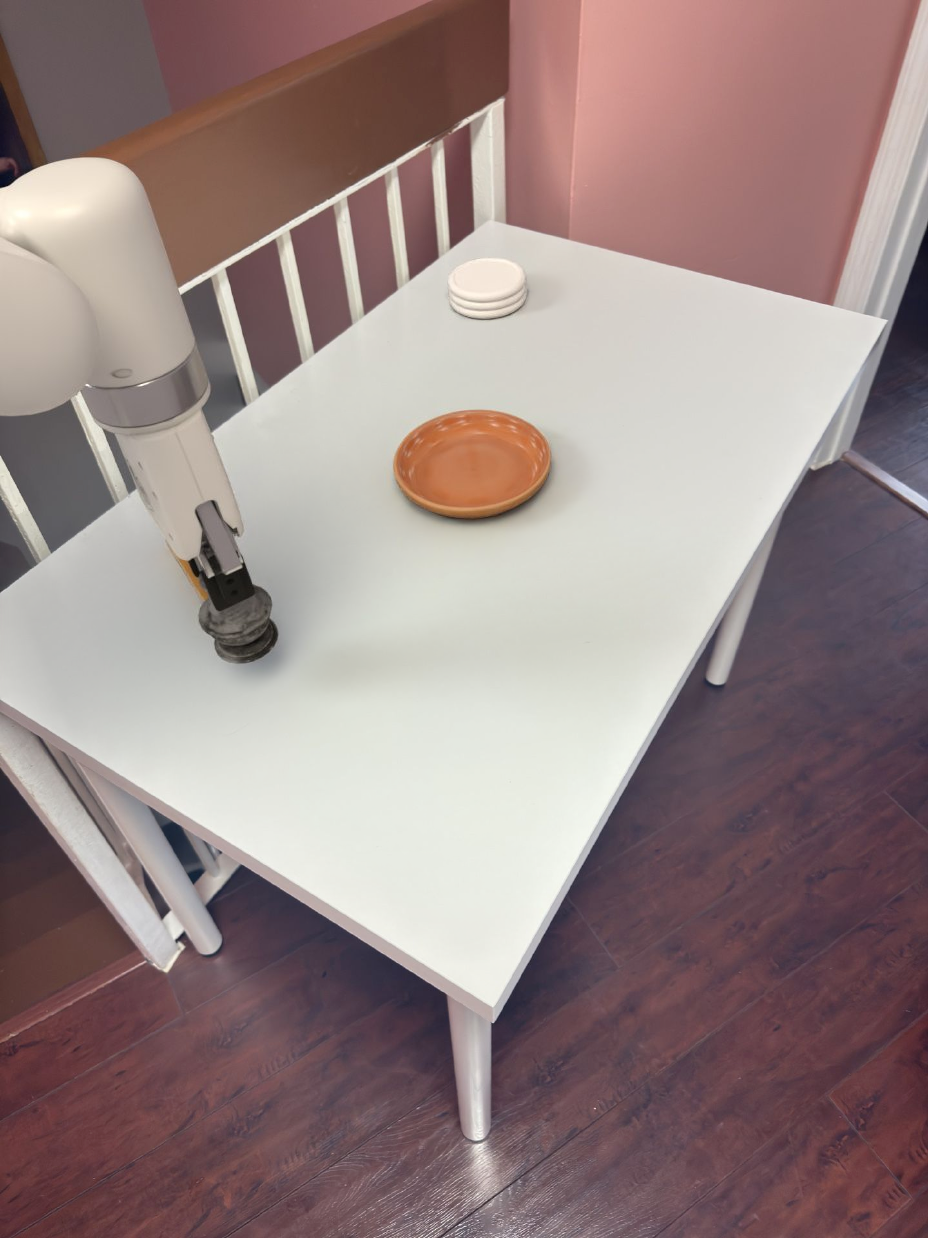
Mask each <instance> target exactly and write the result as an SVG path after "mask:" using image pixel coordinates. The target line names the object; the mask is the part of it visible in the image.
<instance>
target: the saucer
mask: <svg viewBox="0 0 928 1238" xmlns="http://www.w3.org/2000/svg"><path fill="white" fill-rule="evenodd" d="M550 447H551V446H550V444H549V442H548V440H547V438H546V437H545V435H543V433H542V432H541V431H540V430H539V429H538V428H537V427H535V426H534V425H533V424H532V423H530V422H529V421H526V420H524V419H523V418H521V417H518V416H516V415H513V414H511V413H507V412H504V411H498V410H491V409H466V410H465V409H464V410H458V411H452V412H448V413H444V414H442V415H439V416H435V417H433V418H431V419H429V420H427V421H424V423H422V424H420V425H418V426H417V427H415V428H414V429H413V430H412V431H410V432H409V433H408V434H407V435H406V436H405V437H404V438H403V439H402V441H401V442H400V444H399V445H398V447H397V449H396V451H395V453H394V457H393V468H392V469H393V473H394V477H395V479H396V482H397V484H398V487H399V489H400V490H401V491H402V493H403V494H404V495H405V496H406V497H407V498H408V500H410V501H411V502H412V503H414V504H415V505H417V506H419V507H421V508H423V509H425V510H427V511H430V512H432V513H435V514H437V515H440V516H445V517H449V518H456V519H482V518H489V517H494V516H497V515H499V514H503V513H505V512H508V511H510V510H512V509H514V508H516V507H518V506H519V505H521V504H523V503H524V502H526V501H528V500H529V499H531V498H532V496H534V495H535V494H536V493H537V492H538V491H539V490H540V489H541V488H542V486H543V485H544V484H545V482H546V480H547V479H548V475H549V473H550V468H551V464H552V451H551V448H550Z"/></svg>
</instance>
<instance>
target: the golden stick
mask: <svg viewBox="0 0 928 1238" xmlns="http://www.w3.org/2000/svg"><path fill="white" fill-rule="evenodd" d="M163 538H164V540H165V543H166V545H167V547H168V548H169V550H170V552H171V554H172V555H173V556H174V558H175V560H176V561H177V563H178V565H179V566H180V569H182V571H183V572H184V574H185V576H186V577H187V579H188V581H189V582H190V584H191V586H192V587H193V589H194V590H195V592H196V594H197V596H198V597H199V599H200V600H201V602H202V604H203V603H204V601H205V600H206V599H207V598H208V597H209V596H208V593H207V591H204V590H203V589H202V588H201V587H200V585H199V581H198V578H199V577H195V575H194V574H193V572H192V570H191V568H190V565H189V563H188V561H185V560H182V559H180V558H179V557H177V556H176V554H175V553H174V551H173V550H172V548H171V547H170V545H169V544H168V542H167V541H166V539H165V537H164V536H163Z"/></svg>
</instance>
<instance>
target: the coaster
mask: <svg viewBox="0 0 928 1238" xmlns="http://www.w3.org/2000/svg"><path fill="white" fill-rule="evenodd" d="M526 280H527V275H526V271H525V270H524V268H523V267H522V266H521V265H520V264H518V263H517V262H515V261H513V260H510V259H507V258H500V257H481V258H475V259H472V260H468V261H466V262H464V263H460V264H459V265H458V266H456V267H455V268H454V269H453V270H452V271H451V272H450V273H449V275H448V278H447V287H448V296H449V297H448V302H449V305H450V307H451V308H452V310H454V311H455V312H457V313H458V314H460V315H461V316H464V317H466V318H470V319H477V320H478V319H479V320H490V319H499V318H502V317H505V316H508V315H510V314H512V313H514V312H516V311H517V310H519V309H520V308H522V306H523V305H524V304H525V302H526V299H527V296H528V295H527V294H528V293H527V282H526Z"/></svg>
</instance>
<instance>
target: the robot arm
mask: <svg viewBox="0 0 928 1238" xmlns="http://www.w3.org/2000/svg"><path fill="white" fill-rule="evenodd" d="M183 301H184V300H183V299H182V295H181V292H180V289H179V285H178V284H177V281H176V277H175V274H174V271H173V268H172V265H171V263H170V259H169V256H168V253H167V251H166V248H165V244H164V241H163V237H162V235H161V233H160V229H159V226H158V223H157V220H156V217H155V214H154V211H153V208H152V204H151V202H150V200H149V197H148V194H147V192H146V189H145V187H144V185H143V183H142V181H141V180H140V178H139V177H138V176H137V175H136V173H135V172H134V171H133V170H131V169H130V168H129V167H127V166H126V165H125V164H123V163H120V162H118V161H116V160H113V159H110V158H105V157H74V158H73V157H72V158H66V159H62V160H57V161H53V162H50V163H47V164H44V165H41V166H39V167H37V168H34V169H32V170H30V171H28V172H27V173H24V174H23V175H21V176H19V177H18V178H17V179H15V180H14V181H13V182H12V183H11V184H9V185H8V186H5V187H0V417H20V416H31V415H36V414H40V413H44V412H48V411H50V410H53V409H56V408H57V407H60V406H61V405H64V404H65V403H67V402H69V401H70V400H71V399H73V398H74V397H76V395H78V394H79V392H80V394H81V396H82V398H83V401H84V403H85V405H86V407H87V410H88V412H89V414H90V415H91V418H92V420H93V422H94V423H95V424H96V425H97V426H98V427H99V428H100V429H102V430H105V431H107V432H109V433H112V434H114V436H115V439H116V441H117V444H118V446H119V448H120V451H121V453H122V456H123V458H124V460H125V462H126V466H127V467H128V470H129V472H130V475H131V478H132V480H133V483H134V486H135V488H136V490H137V493H138V495H139V497H140V499H141V501H142V503H143V505H144V507H145V508H146V510H147V511H148V513H149V515H150V516H151V518H152V520H153V522H154V524H155V525H156V526H157V529H159V531H160V533H161V534H162V536H163V538H164V537H165V538H164V540H165V539H166V540H165V542H166V541H167V542H168V544H169V545H170V547H171V548H172V550H173V551H174V553H175V554H176V556H177V557H179V558H180V559H182V560H185V561H188V563H189V565H190V568H191V570H192V572H193V574H194V575H195V577H199V575H200V574H201V577H202V579H203V582H204V584H205V586H206V589H207V591H208V594H209V596H210V598H211V601H212V603H213V606H214V607H215V609H216V610H217V611H223V610H225V609H227V608H229V607H231V606H233V605H235V604H237V603H239V602H241V601H244V600H246V599H248V598H250V597H252V596H253V595H254V594H255V589H254V586H253V584H254V583H253V580H252V578H251V576H250V573H249V570H248V567H247V564H246V561H245V559H244V557H243V554H242V553H241V552H240V549H239V547H238V544H237V542H236V538H235V537H236V536H237V537H238V538H241V537H242V536H243V533H244V530H245V527H244V521H243V517H242V514H241V511H240V508H239V505H238V502H237V499H236V496H235V493H234V490H233V487H232V485H231V482H230V479H229V476H228V474H227V470H226V468H225V466H224V462H223V460H222V457H221V455H220V452H219V450H218V446H217V444H216V442H215V437H214V435H213V434H212V431H211V428H210V426H209V424H208V421H207V418H206V416H205V414H204V411H203V407H204V405H205V404H206V403H207V402H208V400H209V397H210V395H211V392H212V391H211V389H212V386H211V382H210V380H209V376H208V374H207V371H206V368H205V365H204V362H203V359H202V356H201V353H200V349H199V347H198V343H197V340H196V338H195V335H194V334H195V333H194V331H193V328H192V325H191V322H190V319H189V317H188V313H187V311H186V308H185V305H184V302H183ZM167 542H166V543H167ZM209 546H211V547H212V549H213V552H214V554H215V555H213V556H211V557H209V559H208V557H207V555H206V552H205V550H204V549H205V548H207V547H209ZM194 557H198V559H199V562H200V564H201V566H202V568H203V570H201V571H199V569H198V567H197V564H196V562H195V559H194Z"/></svg>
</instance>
